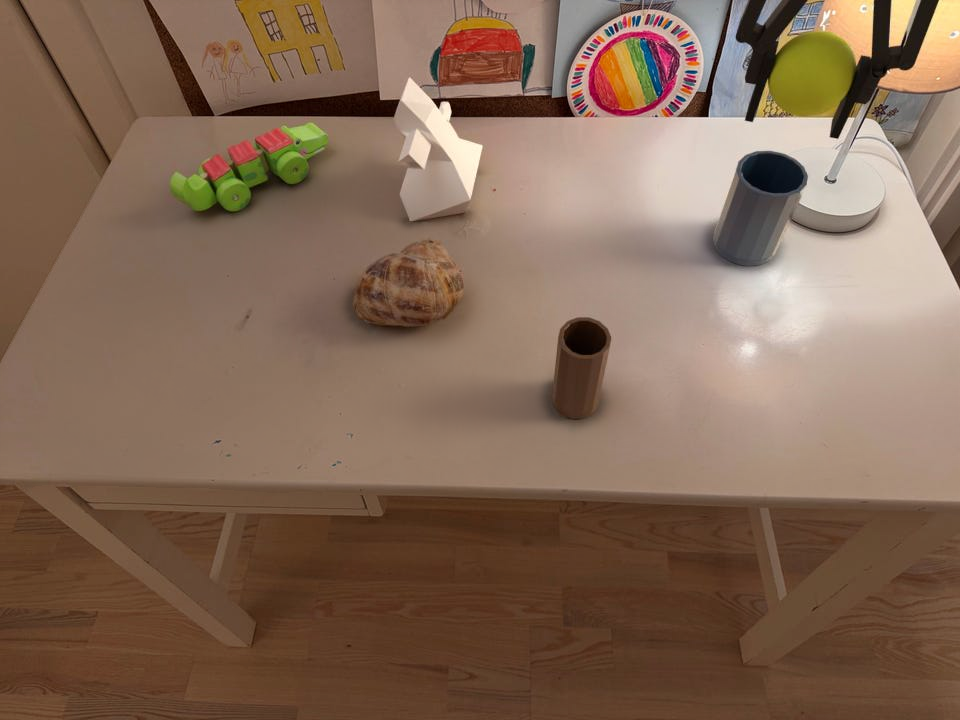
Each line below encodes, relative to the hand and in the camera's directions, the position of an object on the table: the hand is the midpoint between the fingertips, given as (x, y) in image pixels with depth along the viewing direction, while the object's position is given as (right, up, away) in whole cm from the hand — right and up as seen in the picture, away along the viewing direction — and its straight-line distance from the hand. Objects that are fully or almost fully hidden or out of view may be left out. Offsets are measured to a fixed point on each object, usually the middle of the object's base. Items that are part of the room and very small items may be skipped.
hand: (792, 120), depth 65 cm
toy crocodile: (-57, -1, +21) cm, 60 cm away
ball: (0, +3, -4) cm, 5 cm away
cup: (0, -9, +13) cm, 16 cm away
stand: (-20, -26, +2) cm, 33 cm away
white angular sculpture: (-34, -2, +20) cm, 39 cm away
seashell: (-37, -16, +10) cm, 41 cm away
